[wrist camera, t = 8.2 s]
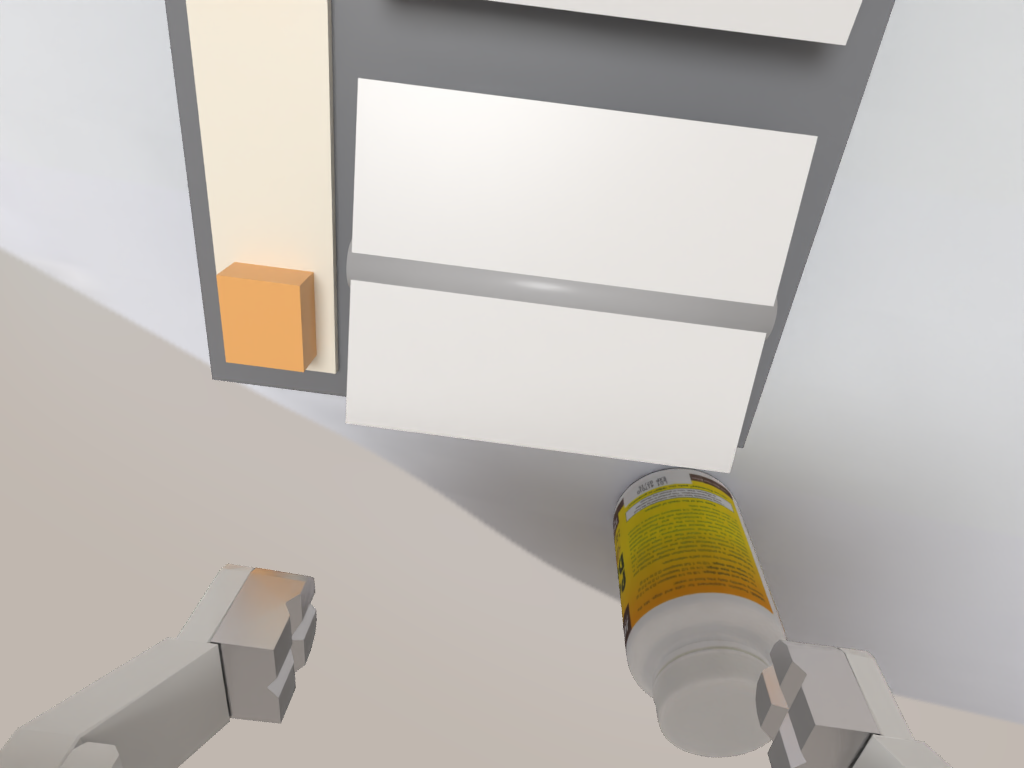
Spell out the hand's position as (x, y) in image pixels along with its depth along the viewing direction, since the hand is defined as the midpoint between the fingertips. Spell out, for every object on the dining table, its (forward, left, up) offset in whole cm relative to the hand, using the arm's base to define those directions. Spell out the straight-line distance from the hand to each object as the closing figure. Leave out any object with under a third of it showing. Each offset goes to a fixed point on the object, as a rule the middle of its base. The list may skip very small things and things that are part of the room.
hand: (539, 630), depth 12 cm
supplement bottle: (-7, +9, -16) cm, 20 cm away
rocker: (0, -3, -9) cm, 9 cm away
